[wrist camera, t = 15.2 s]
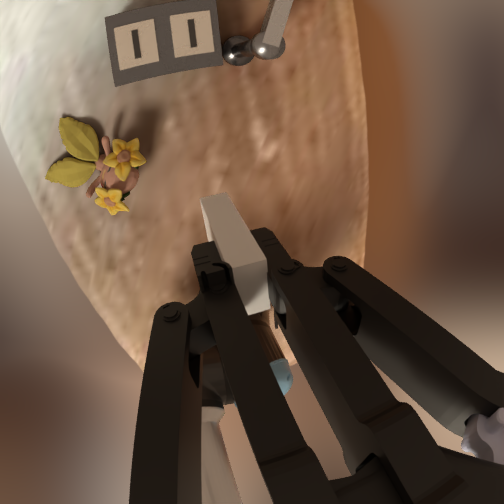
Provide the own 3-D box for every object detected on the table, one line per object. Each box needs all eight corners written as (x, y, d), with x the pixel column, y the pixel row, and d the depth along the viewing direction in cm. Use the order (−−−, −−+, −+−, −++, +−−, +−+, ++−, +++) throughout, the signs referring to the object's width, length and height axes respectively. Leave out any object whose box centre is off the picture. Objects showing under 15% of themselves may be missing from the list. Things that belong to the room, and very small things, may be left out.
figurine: (61, 110, 35) (112, 142, 31) (107, 115, 43) (163, 146, 39) (43, 184, 40) (87, 232, 36) (86, 181, 48) (136, 222, 44)
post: (254, 64, 41) (282, 63, 32) (223, 67, 40) (243, 66, 31) (252, 35, 38) (279, 27, 29) (219, 37, 37) (239, 28, 28)
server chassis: (213, 65, 39) (224, 64, 33) (120, 85, 37) (114, 87, 31) (206, 7, 33) (216, -4, 28) (111, 25, 31) (104, 16, 25)
